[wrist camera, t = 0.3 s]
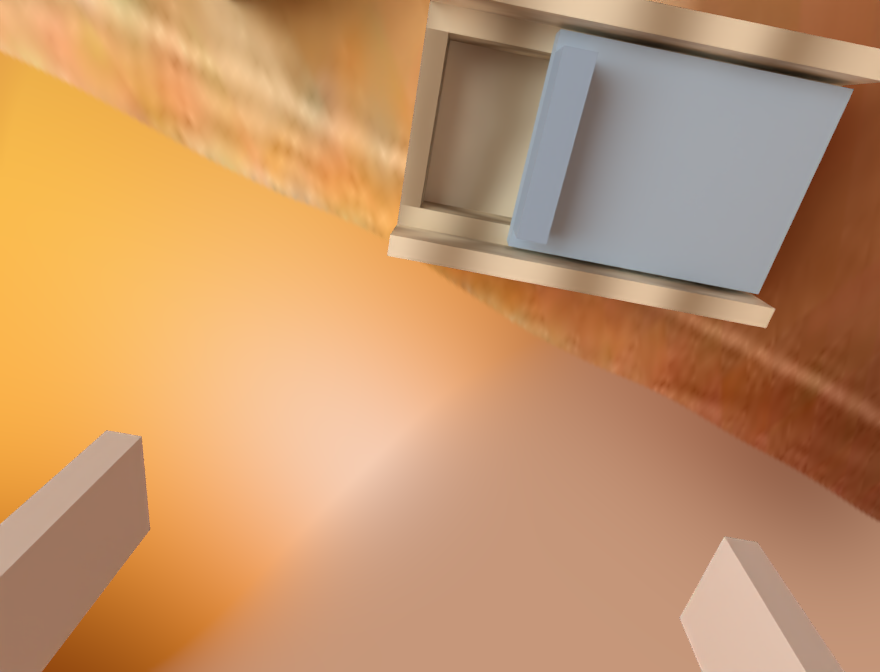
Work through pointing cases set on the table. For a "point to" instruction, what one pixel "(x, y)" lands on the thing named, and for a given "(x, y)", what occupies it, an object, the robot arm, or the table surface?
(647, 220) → the cover plate
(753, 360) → the table surface
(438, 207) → the case
